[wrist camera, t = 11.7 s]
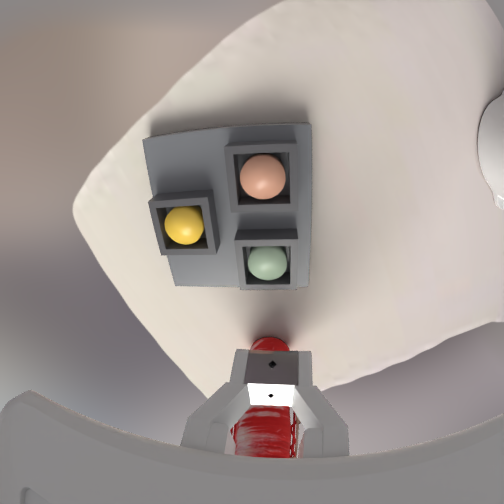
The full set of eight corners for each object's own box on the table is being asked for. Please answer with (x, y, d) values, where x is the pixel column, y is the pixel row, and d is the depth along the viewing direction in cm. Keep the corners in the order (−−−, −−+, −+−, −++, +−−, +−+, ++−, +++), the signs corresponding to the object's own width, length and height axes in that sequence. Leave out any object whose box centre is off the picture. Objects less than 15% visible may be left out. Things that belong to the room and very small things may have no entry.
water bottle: (318, 334, 42) (326, 485, 21) (307, 362, 47) (309, 492, 26) (244, 328, 43) (220, 481, 22) (242, 356, 47) (222, 488, 26)
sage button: (286, 238, 31) (286, 247, 30) (286, 270, 34) (286, 280, 32) (248, 239, 32) (246, 248, 30) (251, 270, 34) (249, 280, 32)
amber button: (203, 200, 30) (198, 207, 28) (208, 235, 32) (204, 244, 30) (167, 203, 30) (161, 210, 28) (174, 236, 32) (169, 244, 31)
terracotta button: (284, 151, 26) (284, 155, 24) (285, 192, 28) (286, 198, 27) (240, 153, 27) (238, 157, 25) (244, 193, 29) (241, 199, 27)
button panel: (309, 123, 26) (314, 127, 22) (307, 277, 37) (309, 299, 33) (149, 136, 28) (131, 144, 24) (179, 277, 39) (169, 297, 35)
